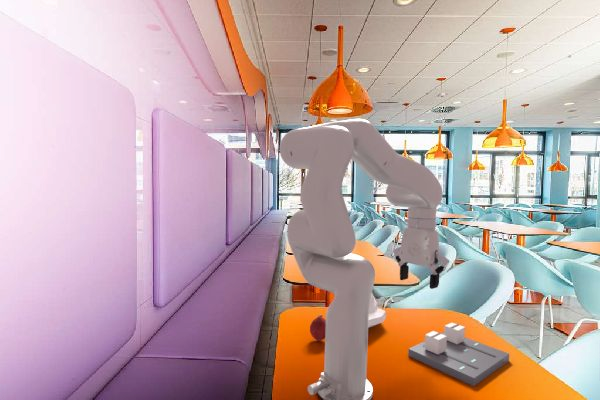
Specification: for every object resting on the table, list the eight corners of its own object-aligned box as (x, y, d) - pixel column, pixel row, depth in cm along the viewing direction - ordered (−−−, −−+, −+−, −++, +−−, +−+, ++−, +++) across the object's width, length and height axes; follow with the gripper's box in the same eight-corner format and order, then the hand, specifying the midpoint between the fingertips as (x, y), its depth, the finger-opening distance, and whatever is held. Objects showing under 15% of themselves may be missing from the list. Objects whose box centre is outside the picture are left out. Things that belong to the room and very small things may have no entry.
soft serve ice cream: (336, 332, 117) (332, 287, 119) (364, 324, 127) (360, 283, 130) (367, 335, 108) (362, 286, 111) (395, 326, 118) (390, 282, 121)
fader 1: (438, 354, 96) (438, 339, 96) (424, 348, 99) (425, 334, 99) (446, 350, 98) (446, 335, 98) (432, 344, 102) (433, 330, 101)
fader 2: (457, 344, 102) (458, 330, 102) (443, 339, 105) (444, 325, 105) (464, 340, 105) (465, 326, 104) (451, 335, 108) (451, 322, 108)
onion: (327, 346, 104) (328, 319, 103) (308, 344, 105) (308, 317, 104) (330, 337, 109) (331, 312, 109) (311, 335, 111) (312, 310, 110)
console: (473, 386, 86) (474, 377, 86) (408, 355, 100) (408, 348, 100) (508, 360, 98) (509, 353, 98) (446, 336, 112) (446, 330, 112)
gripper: (388, 221, 107) (385, 278, 108) (442, 228, 93) (439, 294, 94) (403, 219, 111) (400, 274, 113) (457, 227, 98) (454, 289, 99)
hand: (418, 283), depth 104 cm, fingers open, 9 cm apart
